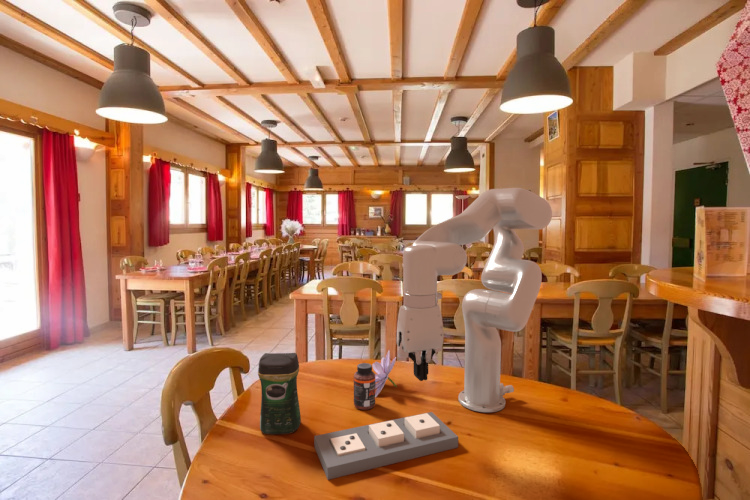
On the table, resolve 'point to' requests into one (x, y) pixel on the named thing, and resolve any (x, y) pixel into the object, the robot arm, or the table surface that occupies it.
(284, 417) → the coffee jar
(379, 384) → the water lily
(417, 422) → the tile
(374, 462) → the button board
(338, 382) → the table surface
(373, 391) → the supplement bottle
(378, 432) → the tile
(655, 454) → the table surface
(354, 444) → the tile
